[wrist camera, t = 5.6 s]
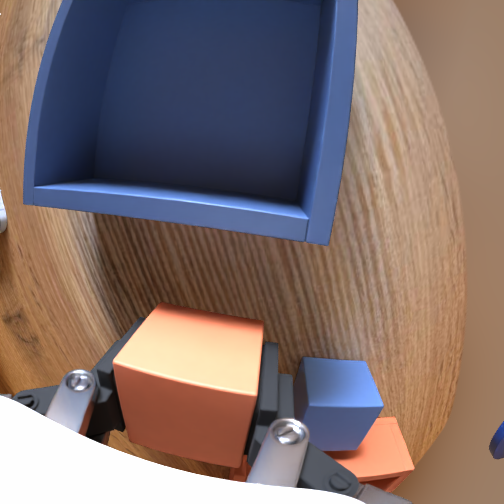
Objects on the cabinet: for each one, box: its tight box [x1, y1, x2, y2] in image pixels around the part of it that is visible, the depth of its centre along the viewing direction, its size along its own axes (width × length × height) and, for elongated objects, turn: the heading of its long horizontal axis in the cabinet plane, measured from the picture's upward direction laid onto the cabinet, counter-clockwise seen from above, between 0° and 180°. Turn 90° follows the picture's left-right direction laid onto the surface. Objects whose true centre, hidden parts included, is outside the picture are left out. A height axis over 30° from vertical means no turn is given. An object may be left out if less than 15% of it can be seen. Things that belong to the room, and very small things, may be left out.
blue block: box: [293, 357, 384, 451], centre depth 16 cm, size 4×4×4 cm
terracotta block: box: [113, 302, 264, 468], centre depth 10 cm, size 4×4×4 cm
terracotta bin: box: [228, 417, 414, 493], centre depth 18 cm, size 13×13×6 cm
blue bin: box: [23, 0, 358, 246], centre depth 10 cm, size 13×13×6 cm
